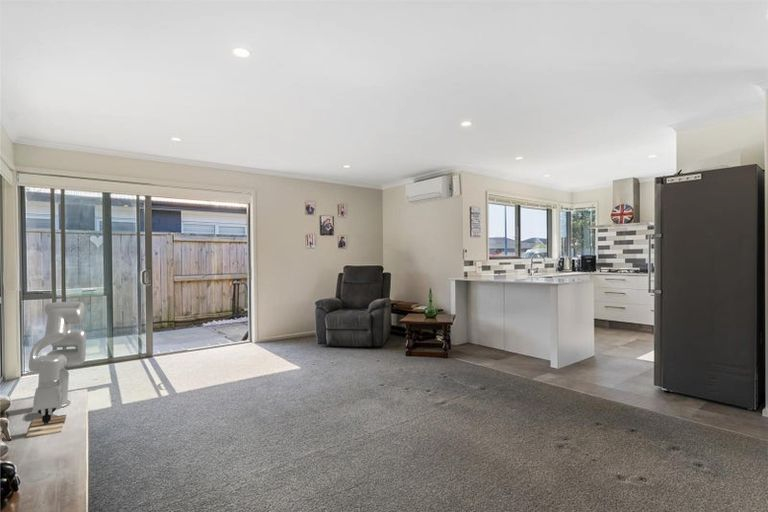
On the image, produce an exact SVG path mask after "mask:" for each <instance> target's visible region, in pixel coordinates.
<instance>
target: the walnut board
mask: <svg viewBox="0 0 768 512" xmlns="http://www.w3.org/2000/svg"><path fill="white" fill-rule="evenodd" d="M66 418H67V414H61V415H58V416H53V417H51V421H49V422H48V424H47V423H46V424H44V422H42V417H41V418H40V417H39V418H34V419H32V421H31V424H30V426H29V429H30V428H33V427H39V426H45V425H52V424H58V423H63V425H65V422H66Z"/></svg>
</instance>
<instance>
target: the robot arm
mask: <svg viewBox="0 0 768 512" xmlns="http://www.w3.org/2000/svg"><path fill="white" fill-rule="evenodd" d="M85 310H86V308H85V304H84V302H81V301H59V302H58V301H56V302H54V301H53V302H48V303H47V304H45V305H44V313H45V315H46V316H47V318H46V326H45V331H44V335H43V336H44V337H42V338H41V339H39V340H38V341H37V342H36V343H35V344H34V346H32V348H31V350H30V355H29V359H28V370H29V371H30V372H33V373H37V372H38V384H37V385H38V386H37V387H36V389H35V391H34V397H33V405H32V411H31V412H32V413H33V414H34V413H36V414H37V413H38V414H40V415H41V418H42V422H44V424H46V423H47V424H48V422H49V421H51V414H52V413H53V412H54V411H55V410H58V411H59V410H61V409H62V408H65V407H68V406H69V405H70V404H71V403H72V402H71V400H70V399H68V398H69V397H68V394H69V380H70V379H69V376H70V374H69V370H68V369H66V368H65V367H67V366H69V367H70V366H77V365H78V366H79V365H82V364H83V363H85V360H86V353H87V352H86V349H87V334H86V331H85V330H83V329H71V324H72V325H75V324H80V323H82V321H83V318H84V314H85ZM47 346H51V347H52V348H57V349H54V350H51V351H49V352H47V354H46V355H39V352H41V350H43V349H45V348H46V347H47ZM71 347H74V348H71ZM60 348H61V349H60ZM45 409H49V412H48V414H46V411H45Z"/></svg>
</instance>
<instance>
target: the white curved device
mask: <svg viewBox="0 0 768 512" xmlns="http://www.w3.org/2000/svg"><path fill="white" fill-rule="evenodd" d="M45 411H46V414H48V412H49V409H45ZM58 414H59V409H58V410H55V411H54V412H53V413H52V414H51V417H53V416H59V415H58Z"/></svg>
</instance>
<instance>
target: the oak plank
mask: <svg viewBox="0 0 768 512" xmlns="http://www.w3.org/2000/svg"><path fill="white" fill-rule="evenodd" d="M63 428H64V424H63V423H58V424H52V425H45V426H39V427H33V428H30V427H29V429H28V432H27V434H26V436H25V439H29V438H34V437H40V436H41V437H42V436H45V435H52V434H58V433H62V431H63Z"/></svg>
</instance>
